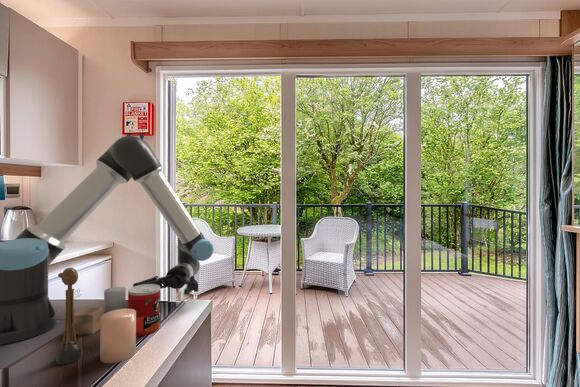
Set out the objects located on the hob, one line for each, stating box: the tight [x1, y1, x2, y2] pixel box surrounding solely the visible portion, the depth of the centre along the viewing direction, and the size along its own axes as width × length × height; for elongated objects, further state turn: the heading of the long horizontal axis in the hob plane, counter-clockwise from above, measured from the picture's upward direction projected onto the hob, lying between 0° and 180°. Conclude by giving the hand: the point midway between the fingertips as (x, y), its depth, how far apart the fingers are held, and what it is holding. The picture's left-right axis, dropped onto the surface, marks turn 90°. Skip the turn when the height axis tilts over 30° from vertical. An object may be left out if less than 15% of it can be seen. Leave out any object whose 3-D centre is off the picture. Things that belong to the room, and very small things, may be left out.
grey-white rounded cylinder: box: [103, 286, 127, 314], centre depth 90 cm, size 6×6×7 cm
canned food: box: [127, 284, 161, 337], centre depth 79 cm, size 8×8×11 cm
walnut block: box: [74, 306, 104, 335], centre depth 78 cm, size 5×5×5 cm
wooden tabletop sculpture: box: [55, 267, 84, 365], centre depth 65 cm, size 6×5×20 cm
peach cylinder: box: [99, 308, 137, 364], centre depth 67 cm, size 7×7×9 cm
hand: (155, 296), depth 86 cm, fingers open, 13 cm apart
